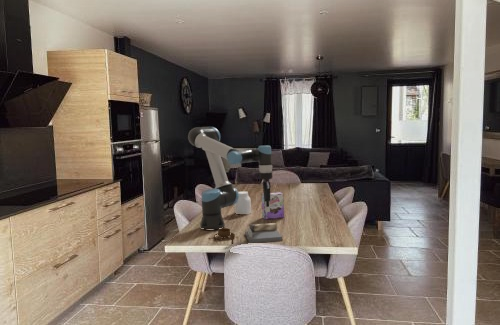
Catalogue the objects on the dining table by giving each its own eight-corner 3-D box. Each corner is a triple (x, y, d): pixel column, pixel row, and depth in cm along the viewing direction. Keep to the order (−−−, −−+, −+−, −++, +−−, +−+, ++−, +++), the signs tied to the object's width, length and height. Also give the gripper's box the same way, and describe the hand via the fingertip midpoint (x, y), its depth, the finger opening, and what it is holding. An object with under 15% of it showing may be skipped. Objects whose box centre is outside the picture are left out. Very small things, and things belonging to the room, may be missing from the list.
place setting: (241, 235, 217) (241, 225, 216) (235, 246, 197) (235, 235, 196) (212, 235, 219) (211, 225, 219) (203, 246, 199) (202, 235, 199)
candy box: (264, 219, 247) (263, 195, 245) (261, 217, 253) (261, 193, 251) (284, 217, 250) (283, 193, 249) (281, 215, 256) (280, 191, 254)
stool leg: (250, 231, 213) (249, 225, 213) (249, 229, 217) (249, 224, 216) (276, 229, 215) (276, 223, 215) (275, 227, 219) (275, 222, 218)
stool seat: (249, 242, 200) (248, 233, 200) (245, 233, 217) (244, 225, 216) (282, 240, 203) (281, 231, 202) (275, 231, 219) (275, 223, 219)
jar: (251, 211, 271) (250, 191, 269) (250, 214, 262) (249, 193, 260) (235, 211, 272) (235, 191, 270) (234, 215, 262) (233, 194, 261)
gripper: (274, 172, 213) (276, 213, 215) (270, 170, 226) (271, 208, 228) (261, 173, 212) (263, 214, 214) (257, 171, 225) (259, 209, 227)
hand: (267, 211), depth 221 cm, fingers closed
